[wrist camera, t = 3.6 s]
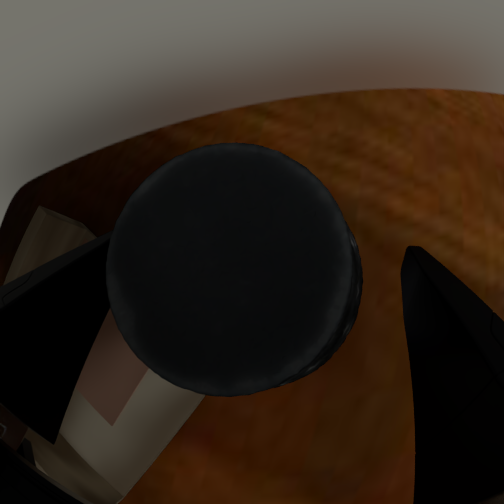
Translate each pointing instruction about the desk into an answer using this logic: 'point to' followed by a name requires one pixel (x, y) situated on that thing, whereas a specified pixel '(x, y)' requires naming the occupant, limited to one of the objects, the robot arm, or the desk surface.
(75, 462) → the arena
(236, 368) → the pill bottle
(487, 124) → the desk surface
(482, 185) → the desk surface
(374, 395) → the desk surface
